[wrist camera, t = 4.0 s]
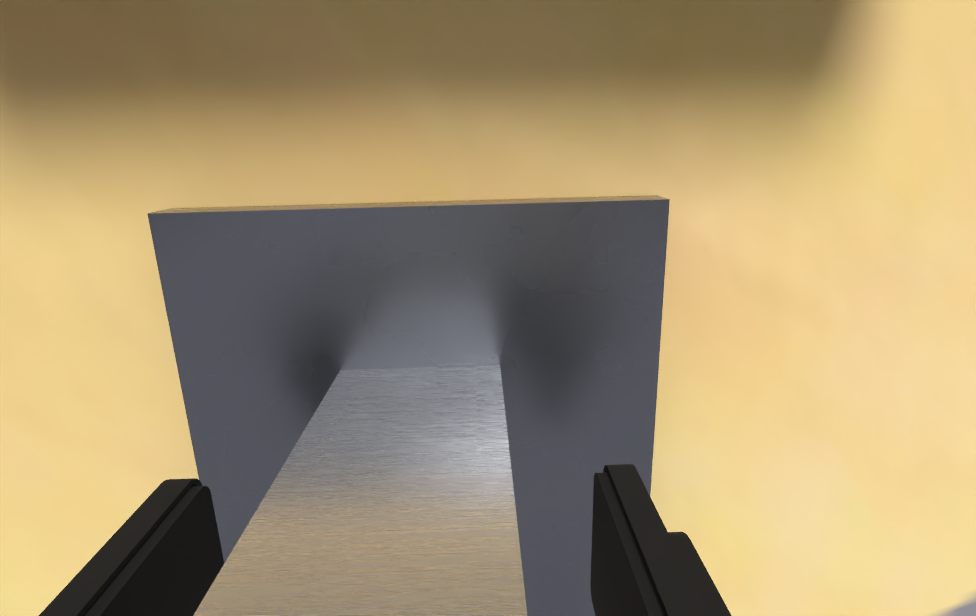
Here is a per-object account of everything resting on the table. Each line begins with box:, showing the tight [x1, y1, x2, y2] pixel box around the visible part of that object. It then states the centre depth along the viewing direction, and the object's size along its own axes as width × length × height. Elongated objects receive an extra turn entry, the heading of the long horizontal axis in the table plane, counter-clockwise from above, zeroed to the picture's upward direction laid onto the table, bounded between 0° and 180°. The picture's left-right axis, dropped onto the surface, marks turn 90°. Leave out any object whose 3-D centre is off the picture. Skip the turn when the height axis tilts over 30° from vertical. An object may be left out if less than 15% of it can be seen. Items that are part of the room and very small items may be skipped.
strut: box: [193, 365, 527, 616], centre depth 10 cm, size 4×4×9 cm
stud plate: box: [148, 196, 669, 616], centre depth 13 cm, size 12×12×5 cm
